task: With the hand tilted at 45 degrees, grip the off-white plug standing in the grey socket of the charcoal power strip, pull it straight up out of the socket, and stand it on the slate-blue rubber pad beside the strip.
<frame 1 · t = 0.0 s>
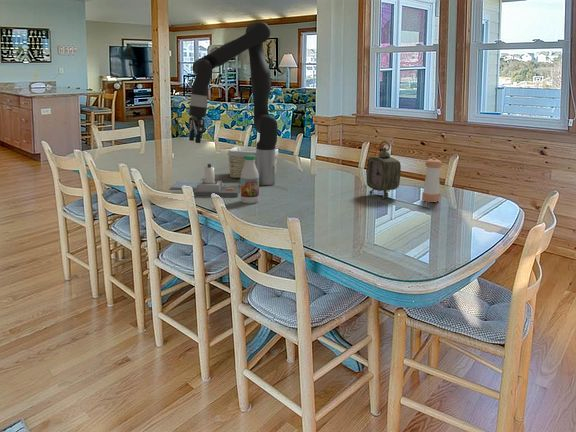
hand: (194, 141, 247), 22 cm above the table, tool pointing down, fingers open, 8 cm apart
plug: (209, 189, 246), point 2 cm above the table, touching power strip
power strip: (216, 193, 247), on the table
tabletop clock: (382, 196, 248), on the table
slate pad: (188, 186, 260), on the table
storage basket: (253, 177, 286), on the table
pepper shaker: (430, 201, 241), on the table
milk bottle: (249, 202, 233), on the table
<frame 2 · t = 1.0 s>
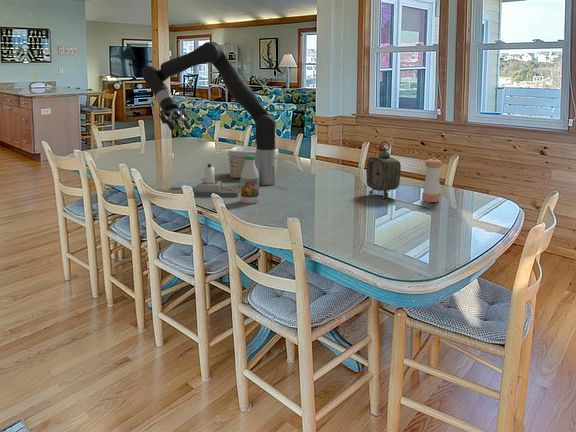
hand: (181, 128, 254), 27 cm above the table, tool tilted 45°, fingers open, 8 cm apart
nothing on the table moved.
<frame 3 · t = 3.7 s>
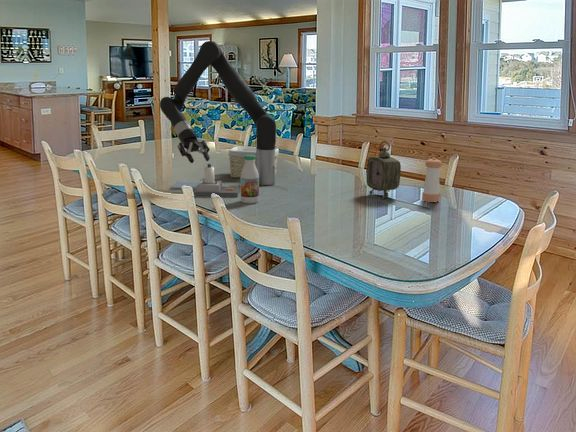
hand: (200, 161, 248), 14 cm above the table, tool tilted 45°, fingers open, 8 cm apart
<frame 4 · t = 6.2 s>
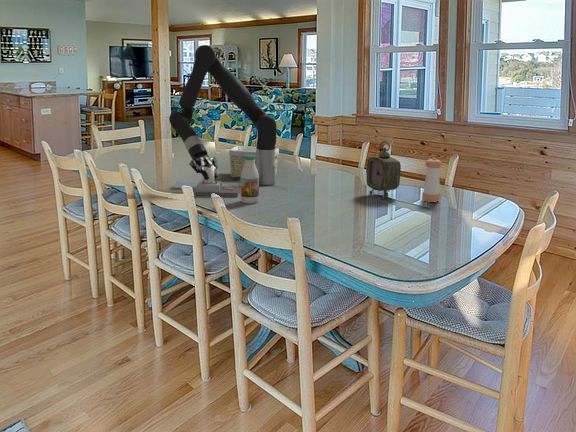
hand: (212, 178, 244), 7 cm above the table, tool tilted 45°, fingers closed on plug, 4 cm apart
plug: (209, 189, 246), point 2 cm above the table, touching gripper, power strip
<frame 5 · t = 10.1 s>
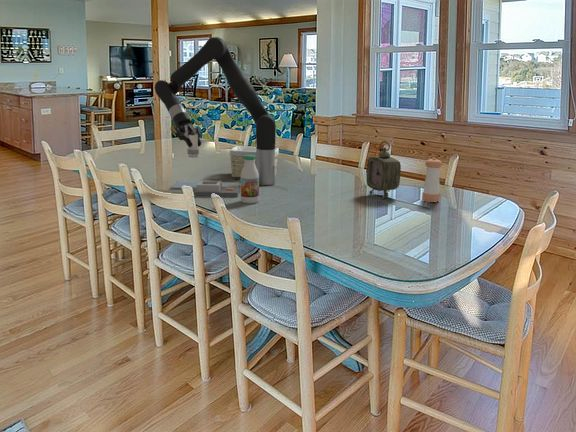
hand: (195, 145, 250), 20 cm above the table, tool tilted 45°, fingers closed on plug, 4 cm apart
plug: (193, 156, 252), point 15 cm above the table, touching gripper
when the fingers open (8 cm above the table, at t = 14.0 s): plug drops 1 cm, resting on slate pad.
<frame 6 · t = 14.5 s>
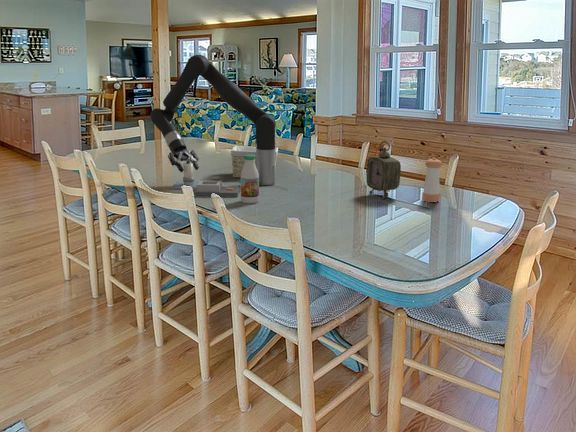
hand: (190, 170, 257), 8 cm above the table, tool tilted 45°, fingers open, 8 cm apart
plug: (188, 184, 260), point 1 cm above the table, touching slate pad
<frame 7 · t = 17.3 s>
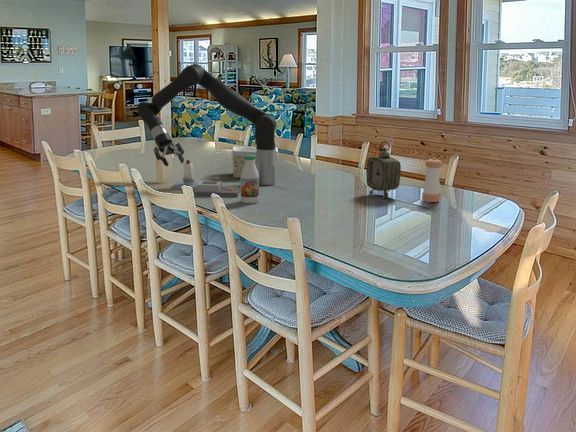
hand: (175, 163, 267), 9 cm above the table, tool tilted 40°, fingers open, 8 cm apart
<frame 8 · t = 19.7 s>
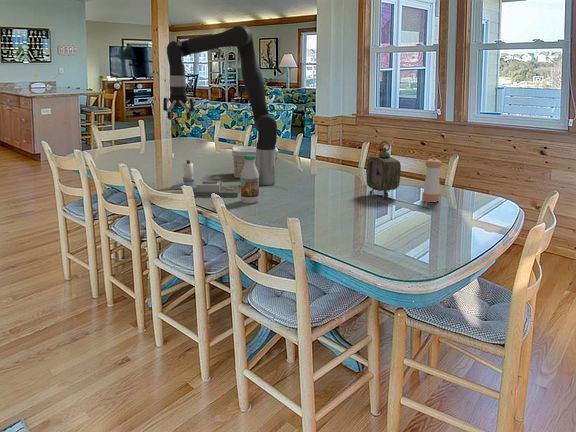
hand: (179, 120, 264), 30 cm above the table, tool pointing down, fingers open, 8 cm apart
at the end: plug inside the target area on the slate pad (0.1 cm from its centre), point 1.0 cm above the slate pad's base; plug tilted 1°; the gripper is holding nothing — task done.
